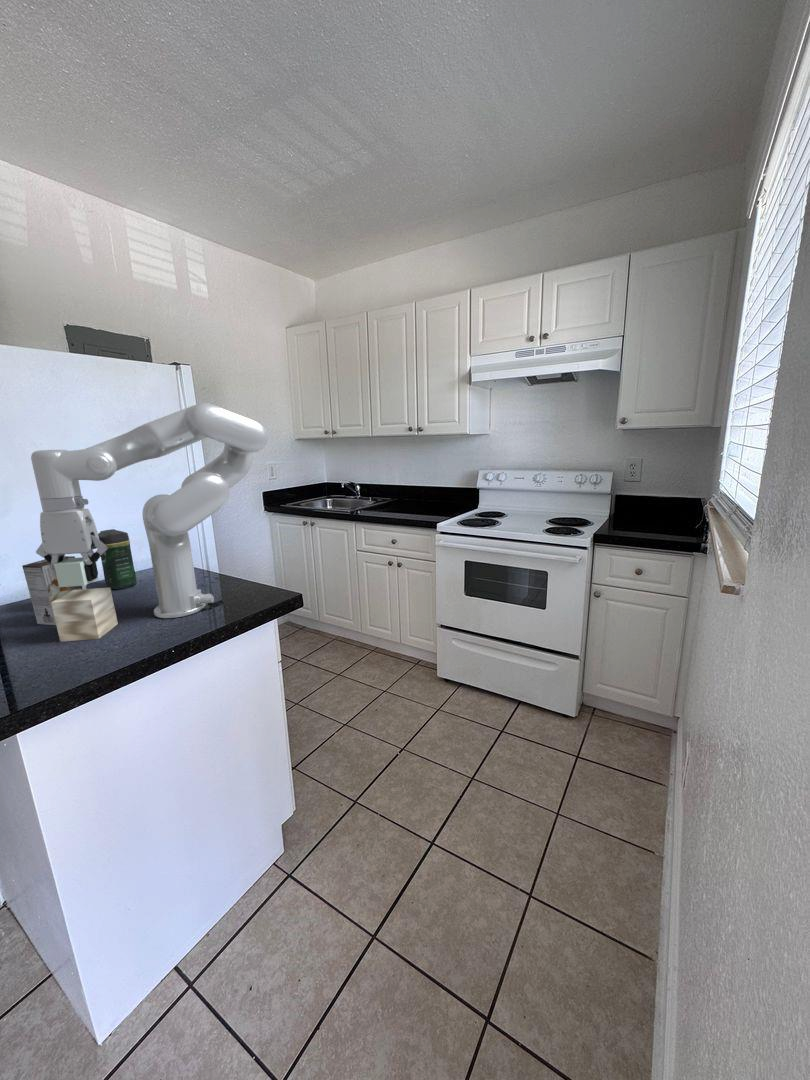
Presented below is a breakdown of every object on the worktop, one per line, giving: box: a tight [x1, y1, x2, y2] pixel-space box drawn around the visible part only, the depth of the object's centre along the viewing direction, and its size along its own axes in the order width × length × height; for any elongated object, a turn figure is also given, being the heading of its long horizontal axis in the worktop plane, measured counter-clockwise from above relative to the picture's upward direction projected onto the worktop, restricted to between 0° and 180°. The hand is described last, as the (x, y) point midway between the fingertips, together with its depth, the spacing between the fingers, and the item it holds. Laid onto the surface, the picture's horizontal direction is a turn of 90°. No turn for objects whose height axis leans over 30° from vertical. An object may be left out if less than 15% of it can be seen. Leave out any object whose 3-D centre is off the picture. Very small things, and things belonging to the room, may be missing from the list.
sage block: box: [54, 556, 99, 587], centre depth 102 cm, size 6×6×6 cm
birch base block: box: [55, 606, 119, 642], centre depth 105 cm, size 8×8×5 cm
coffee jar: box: [98, 528, 138, 590], centre depth 138 cm, size 10×8×19 cm
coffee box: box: [21, 555, 82, 626], centre depth 113 cm, size 9×6×16 cm
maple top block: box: [51, 587, 115, 623], centre depth 104 cm, size 8×8×5 cm
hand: (78, 579), depth 102 cm, fingers closed on sage block, 5 cm apart
